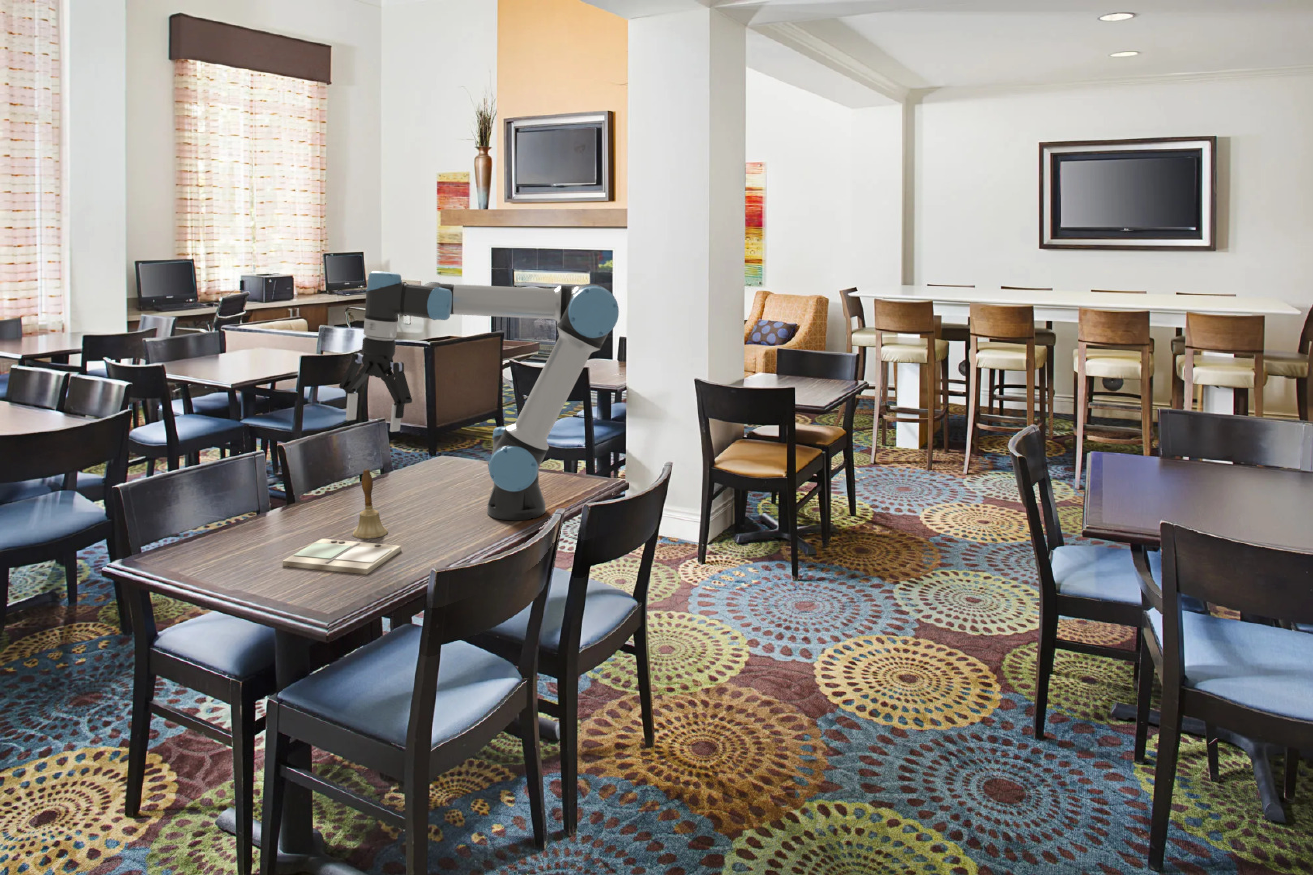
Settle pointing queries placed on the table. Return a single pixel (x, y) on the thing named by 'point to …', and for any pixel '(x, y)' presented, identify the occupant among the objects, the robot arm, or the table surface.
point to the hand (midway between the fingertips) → (372, 425)
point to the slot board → (342, 556)
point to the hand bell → (369, 513)
